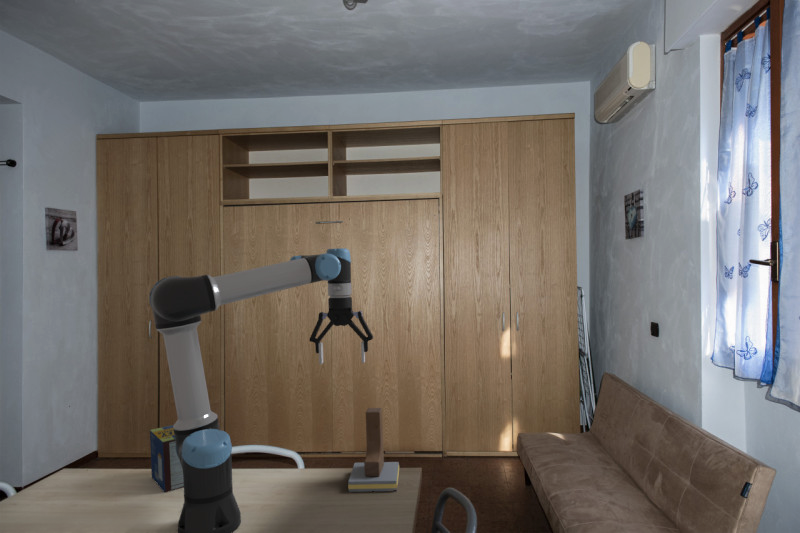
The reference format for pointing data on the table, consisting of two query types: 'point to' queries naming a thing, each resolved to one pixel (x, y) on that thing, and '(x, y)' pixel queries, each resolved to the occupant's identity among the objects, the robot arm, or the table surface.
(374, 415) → the wooden block
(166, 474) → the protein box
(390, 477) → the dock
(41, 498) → the table surface
